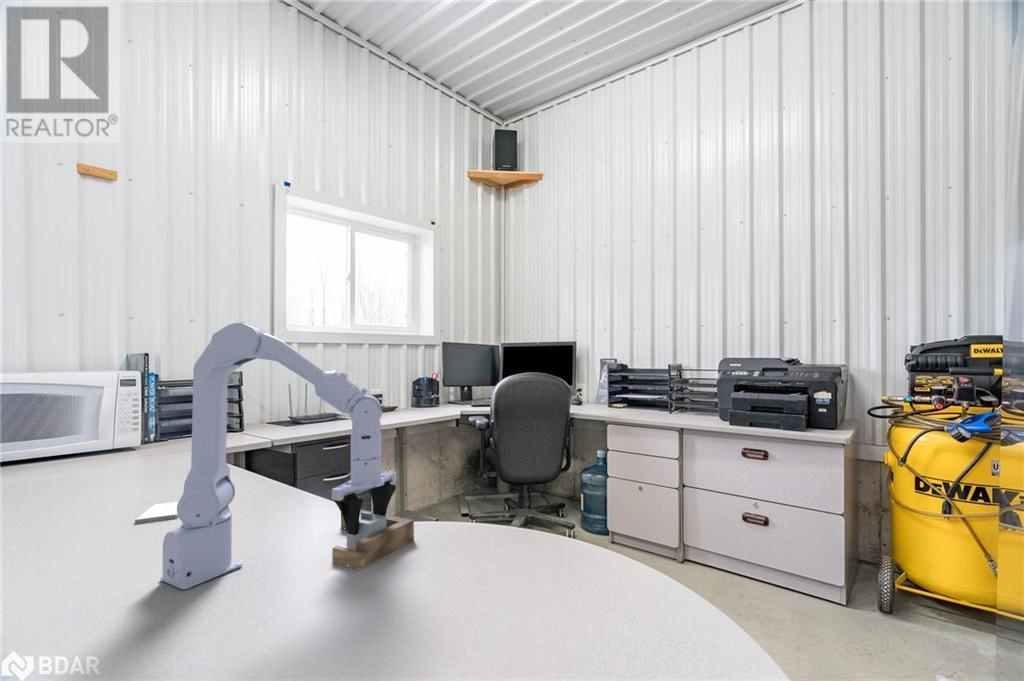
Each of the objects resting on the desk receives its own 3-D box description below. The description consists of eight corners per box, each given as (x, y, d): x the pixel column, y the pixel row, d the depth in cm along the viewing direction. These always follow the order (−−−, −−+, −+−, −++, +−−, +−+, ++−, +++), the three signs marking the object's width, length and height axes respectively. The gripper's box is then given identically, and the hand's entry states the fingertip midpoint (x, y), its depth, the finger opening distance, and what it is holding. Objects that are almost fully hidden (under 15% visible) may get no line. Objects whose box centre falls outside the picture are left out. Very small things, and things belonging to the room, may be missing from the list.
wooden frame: (359, 569, 77) (359, 546, 78) (290, 549, 86) (290, 528, 87) (413, 540, 90) (413, 520, 90) (348, 525, 99) (348, 507, 99)
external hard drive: (134, 526, 103) (152, 510, 114) (177, 520, 106) (190, 505, 117) (134, 519, 103) (152, 504, 114) (177, 514, 106) (190, 499, 118)
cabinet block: (369, 557, 82) (368, 518, 83) (346, 551, 85) (346, 514, 86) (387, 547, 86) (386, 511, 87) (365, 542, 89) (364, 507, 90)
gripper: (350, 467, 78) (350, 545, 78) (407, 451, 91) (407, 519, 91) (324, 463, 82) (324, 538, 81) (382, 449, 95) (382, 513, 94)
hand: (366, 527), depth 86 cm, fingers open, 6 cm apart
